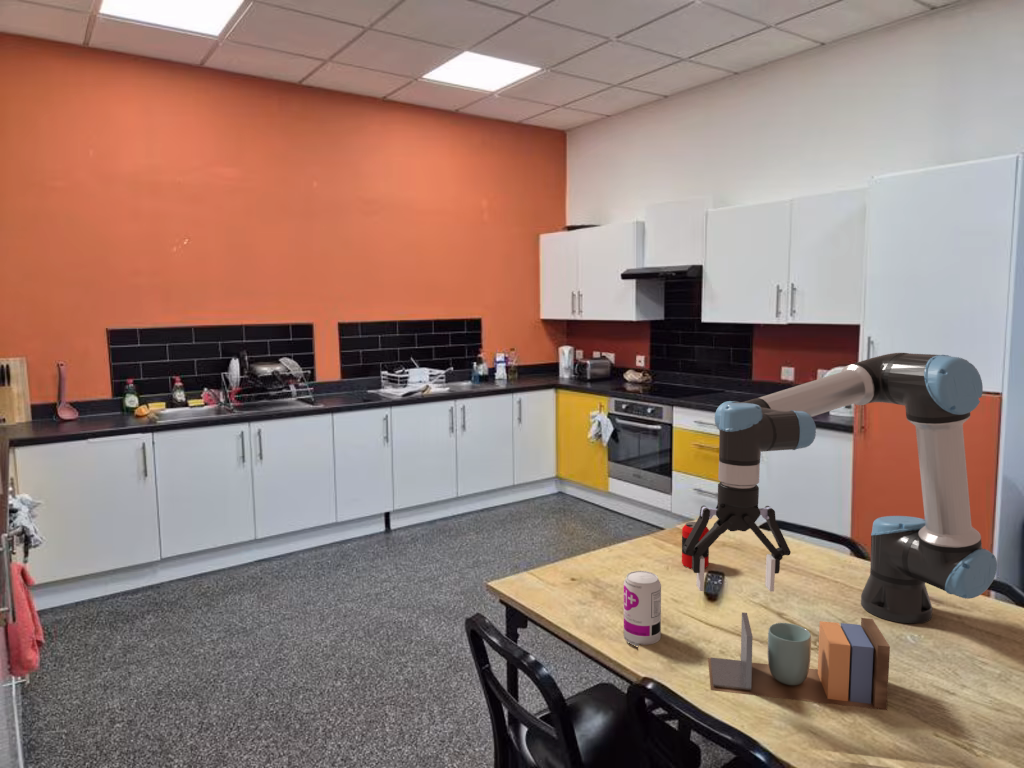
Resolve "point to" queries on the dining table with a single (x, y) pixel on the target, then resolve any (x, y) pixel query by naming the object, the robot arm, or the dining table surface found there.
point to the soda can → (685, 533)
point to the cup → (789, 653)
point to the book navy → (859, 663)
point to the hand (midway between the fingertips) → (734, 588)
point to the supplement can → (642, 608)
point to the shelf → (812, 685)
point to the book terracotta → (833, 660)
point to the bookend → (735, 663)
